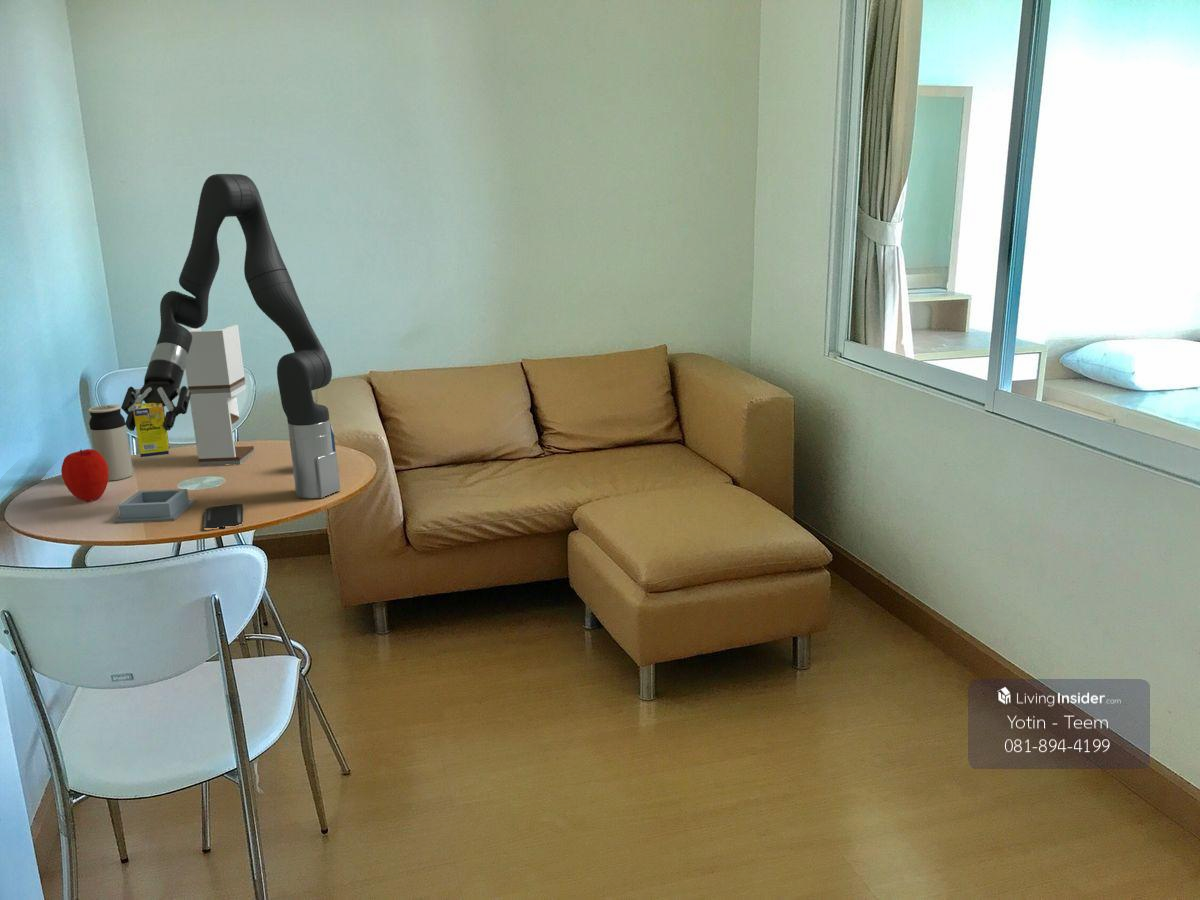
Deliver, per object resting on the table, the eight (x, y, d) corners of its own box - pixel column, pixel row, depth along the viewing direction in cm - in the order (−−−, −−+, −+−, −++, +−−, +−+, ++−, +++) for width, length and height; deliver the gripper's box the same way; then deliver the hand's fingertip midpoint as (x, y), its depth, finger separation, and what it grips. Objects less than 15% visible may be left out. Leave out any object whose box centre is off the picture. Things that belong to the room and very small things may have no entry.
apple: (82, 493, 238) (73, 443, 235) (121, 492, 237) (113, 443, 234) (57, 506, 228) (48, 454, 225) (99, 505, 228) (90, 454, 224)
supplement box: (169, 454, 220) (162, 406, 217) (140, 457, 218) (132, 409, 215) (170, 448, 225) (163, 401, 222) (141, 451, 223) (133, 404, 220)
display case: (240, 464, 258) (222, 330, 249) (199, 466, 258) (180, 332, 249) (254, 453, 269) (237, 324, 260) (215, 454, 269) (197, 326, 260)
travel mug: (116, 482, 246) (105, 411, 241) (91, 480, 248) (79, 410, 243) (140, 473, 253) (129, 404, 248) (115, 472, 255) (104, 403, 251)
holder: (195, 502, 227) (193, 487, 226) (174, 520, 215) (171, 504, 214) (138, 504, 227) (136, 489, 226) (113, 523, 214) (110, 507, 213)
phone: (242, 503, 223) (242, 522, 209) (243, 507, 223) (243, 528, 209) (205, 507, 220) (202, 528, 207) (205, 512, 221) (203, 533, 207)
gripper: (128, 358, 224) (108, 420, 216) (189, 357, 222) (171, 419, 214) (144, 377, 230) (125, 437, 222) (203, 376, 229) (186, 437, 221)
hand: (148, 428), depth 218 cm, fingers closed on supplement box, 8 cm apart
